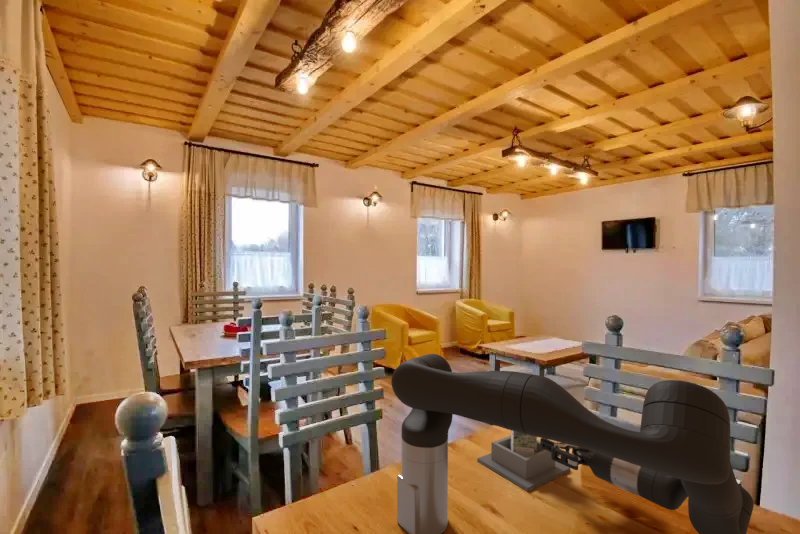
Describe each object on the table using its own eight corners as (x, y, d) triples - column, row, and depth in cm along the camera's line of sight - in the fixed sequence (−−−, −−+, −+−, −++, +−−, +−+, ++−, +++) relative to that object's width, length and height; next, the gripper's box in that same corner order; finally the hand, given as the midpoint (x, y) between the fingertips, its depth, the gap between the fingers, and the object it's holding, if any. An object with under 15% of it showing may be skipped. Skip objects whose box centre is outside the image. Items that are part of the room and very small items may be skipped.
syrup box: (533, 458, 104) (533, 402, 104) (536, 470, 98) (537, 411, 98) (510, 456, 105) (510, 401, 105) (512, 467, 99) (513, 409, 99)
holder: (527, 491, 91) (527, 468, 91) (477, 461, 104) (477, 441, 104) (570, 471, 99) (570, 449, 99) (519, 445, 113) (519, 427, 113)
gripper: (602, 497, 77) (532, 461, 91) (640, 476, 85) (570, 445, 98) (602, 458, 77) (533, 428, 90) (640, 441, 85) (571, 415, 98)
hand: (552, 437), depth 94 cm, fingers open, 8 cm apart
